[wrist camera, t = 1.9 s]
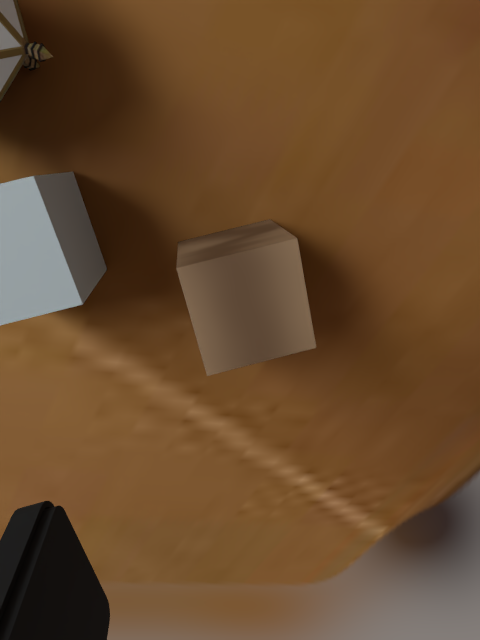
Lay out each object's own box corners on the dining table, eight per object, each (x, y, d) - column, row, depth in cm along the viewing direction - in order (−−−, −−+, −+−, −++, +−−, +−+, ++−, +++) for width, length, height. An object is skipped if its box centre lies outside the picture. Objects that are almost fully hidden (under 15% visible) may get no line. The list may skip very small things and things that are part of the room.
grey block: (73, 171, 21) (33, 175, 15) (107, 269, 23) (82, 304, 17) (-29, 196, 21) (-107, 209, 15) (14, 292, 23) (-42, 335, 17)
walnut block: (269, 219, 23) (297, 238, 17) (286, 305, 25) (316, 347, 19) (178, 241, 23) (176, 268, 17) (201, 327, 25) (207, 376, 19)
